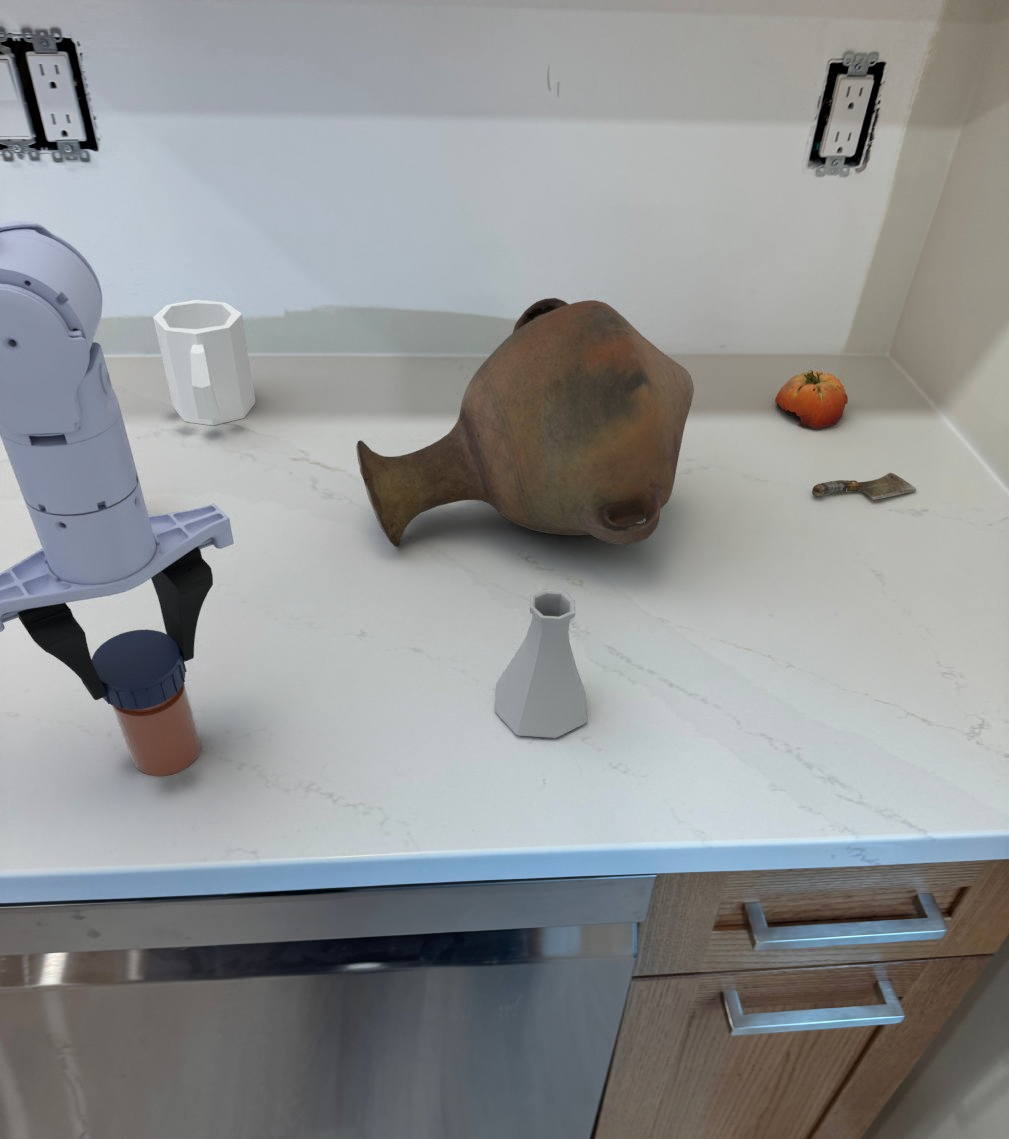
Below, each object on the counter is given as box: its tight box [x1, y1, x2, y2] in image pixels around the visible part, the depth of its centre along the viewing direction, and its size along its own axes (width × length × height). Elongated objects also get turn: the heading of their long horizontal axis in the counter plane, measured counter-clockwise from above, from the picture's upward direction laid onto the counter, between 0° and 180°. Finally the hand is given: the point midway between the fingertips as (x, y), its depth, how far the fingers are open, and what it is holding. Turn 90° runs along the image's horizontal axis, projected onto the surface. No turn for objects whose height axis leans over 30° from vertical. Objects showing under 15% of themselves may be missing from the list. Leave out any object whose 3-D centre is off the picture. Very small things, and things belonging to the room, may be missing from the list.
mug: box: [152, 299, 256, 426], centre depth 92 cm, size 12×9×10 cm
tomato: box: [774, 367, 849, 430], centre depth 102 cm, size 8×7×7 cm
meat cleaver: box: [811, 472, 917, 500], centre depth 91 cm, size 12×1×5 cm
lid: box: [91, 629, 187, 710], centre depth 57 cm, size 5×5×2 cm
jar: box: [111, 682, 202, 777], centre depth 59 cm, size 5×5×8 cm
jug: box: [355, 297, 695, 547], centre depth 78 cm, size 20×20×30 cm
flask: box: [494, 588, 588, 739], centre depth 64 cm, size 7×7×10 cm
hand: (140, 669), depth 57 cm, fingers closed on lid, 5 cm apart
